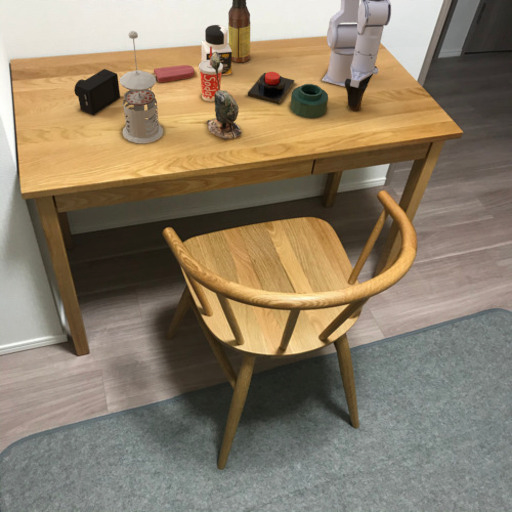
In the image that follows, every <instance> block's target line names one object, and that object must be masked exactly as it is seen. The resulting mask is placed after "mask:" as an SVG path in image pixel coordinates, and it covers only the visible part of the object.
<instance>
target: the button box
mask: <svg viewBox="0 0 512 512" xmlns="http://www.w3.org/2000/svg"><path fill="white" fill-rule="evenodd" d="M266 73H267V72H263V73H262V75H260V77H259V78H258V79H257V81H256V82H255V83H254V84H253V86H252V87H251V88H250V89H249V90H248V92H247V97H249V98H253V99H257V100H260V101H264V102H268V103H272V104H275V105H280V104H281V102H282V101H283V100H284V98H286V96H287V95H288V93H289V92H290V91H291V89H292V87H293V86H294V85H295V81H296V80H295V79H291V78H287V77H283V76H281V75H280V82H279V84H276V85H271V84H267V83H266V82H265V74H266Z"/></svg>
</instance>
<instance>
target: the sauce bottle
mask: <svg viewBox="0 0 512 512" xmlns="http://www.w3.org/2000/svg"><path fill="white" fill-rule="evenodd" d="M227 16H228V23H227V27H228V28H227V30H228V44H229V46H230V48H231V50H232V62H235V63H245V62H247V61H249V60H250V57H251V13H250V11H249V8H248V6H247V0H232V2H231V7H230V8H229V10H228V15H227Z"/></svg>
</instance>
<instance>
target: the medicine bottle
mask: <svg viewBox="0 0 512 512" xmlns="http://www.w3.org/2000/svg"><path fill="white" fill-rule="evenodd" d="M204 34H205V37H204V40H201V42H200V43H201V44H200V45H201V46H200V47H201V49H200V51H201V58H200V59H201V62H202V61H205V60H210V46H211V47H212V54H213V53H214V52H218V54H219V57H220V63H221V64H222V65H223V70H222V73H221V76H226V75H227V76H228V75H231V74H232V62H233V61H232V50H231V48H230V46H229V34H228V28H227V27H225V26H223V25H220V24H211V25H209V26H207V27H206V28H205V33H204Z"/></svg>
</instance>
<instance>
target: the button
mask: <svg viewBox="0 0 512 512" xmlns="http://www.w3.org/2000/svg"><path fill="white" fill-rule="evenodd" d="M265 73H266V74H265V82H266V83H267V84H271V85H276V84H279V82H280V76H281V75H280V73H278V72H277V71H267V72H265Z"/></svg>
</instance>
